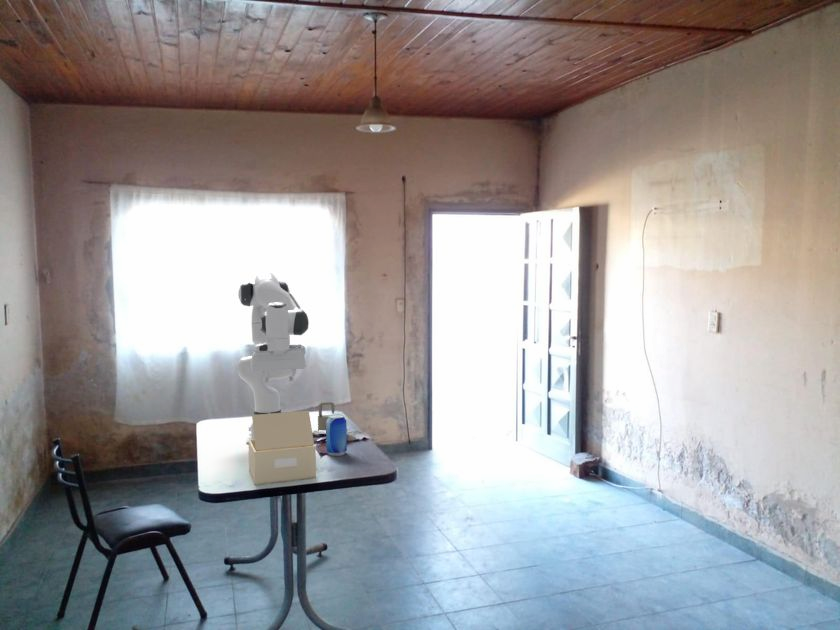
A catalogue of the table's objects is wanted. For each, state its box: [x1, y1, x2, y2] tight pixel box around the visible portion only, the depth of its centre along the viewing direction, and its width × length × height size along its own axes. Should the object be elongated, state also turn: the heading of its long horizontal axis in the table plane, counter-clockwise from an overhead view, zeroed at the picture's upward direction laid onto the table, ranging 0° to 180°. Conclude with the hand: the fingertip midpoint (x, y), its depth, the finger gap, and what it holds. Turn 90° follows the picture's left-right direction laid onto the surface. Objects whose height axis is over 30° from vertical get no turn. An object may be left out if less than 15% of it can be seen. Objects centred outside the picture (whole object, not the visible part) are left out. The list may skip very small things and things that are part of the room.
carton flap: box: [251, 410, 315, 451], centre depth 245 cm, size 14×21×1 cm
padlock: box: [317, 401, 336, 432], centre depth 312 cm, size 4×8×15 cm, turn 103°
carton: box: [248, 440, 317, 486], centre depth 250 cm, size 18×22×12 cm
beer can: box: [325, 413, 348, 457], centre depth 278 cm, size 8×8×16 cm
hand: (278, 381), depth 252 cm, fingers open, 8 cm apart
